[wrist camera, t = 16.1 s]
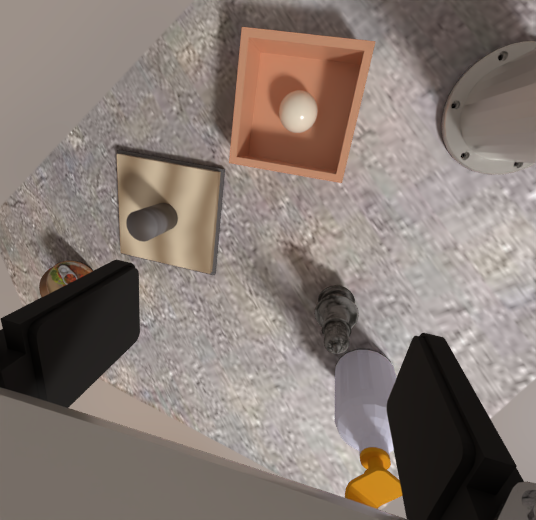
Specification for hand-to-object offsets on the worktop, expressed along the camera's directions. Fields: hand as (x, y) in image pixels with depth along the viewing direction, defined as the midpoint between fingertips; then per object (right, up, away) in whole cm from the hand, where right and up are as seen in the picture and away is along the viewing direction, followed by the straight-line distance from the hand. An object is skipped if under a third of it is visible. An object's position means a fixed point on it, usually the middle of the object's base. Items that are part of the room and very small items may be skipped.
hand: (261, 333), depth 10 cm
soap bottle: (+16, -15, +38) cm, 44 cm away
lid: (-15, +9, +35) cm, 39 cm away
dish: (+4, +20, +27) cm, 34 cm away
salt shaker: (+10, -4, +35) cm, 36 cm away
